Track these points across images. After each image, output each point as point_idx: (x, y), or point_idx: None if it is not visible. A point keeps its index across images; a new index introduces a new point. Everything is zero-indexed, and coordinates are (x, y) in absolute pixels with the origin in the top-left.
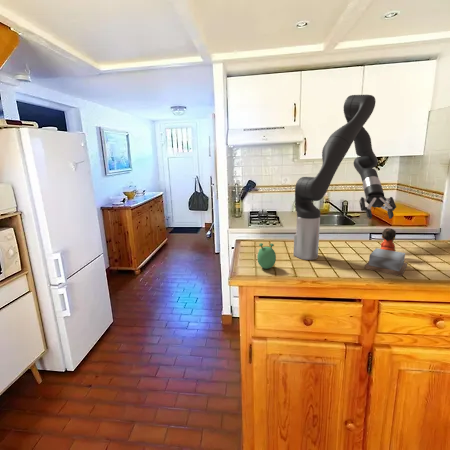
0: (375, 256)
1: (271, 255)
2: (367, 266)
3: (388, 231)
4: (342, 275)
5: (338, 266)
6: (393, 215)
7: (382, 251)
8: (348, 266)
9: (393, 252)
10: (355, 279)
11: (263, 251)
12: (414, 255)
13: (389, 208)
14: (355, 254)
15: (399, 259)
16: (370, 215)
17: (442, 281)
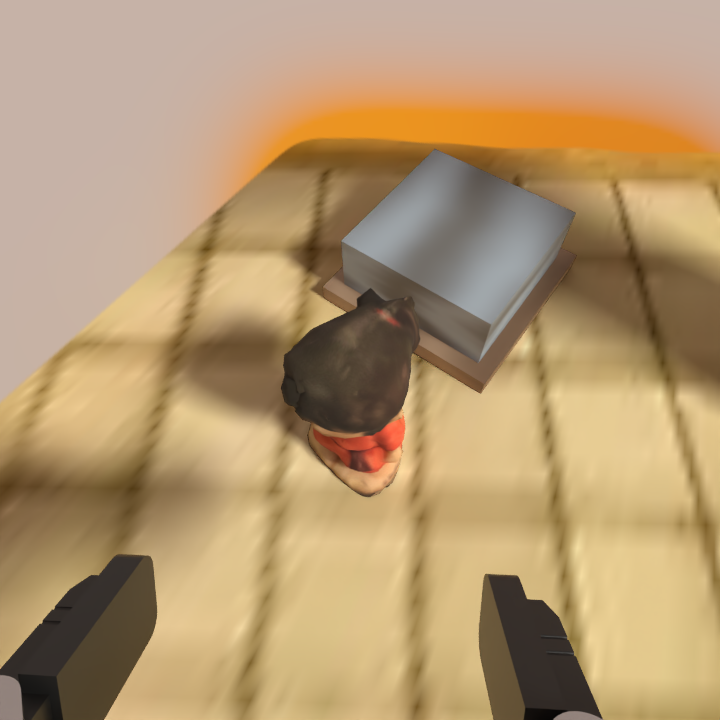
0: (545, 200)
1: None
2: (563, 251)
3: (386, 301)
4: (695, 200)
5: (714, 291)
6: (85, 581)
7: (472, 266)
8: (656, 291)
9: (409, 249)
10: (639, 169)
11: None
12: (147, 465)
13: (21, 708)
14: (576, 495)
15: (432, 161)
16: (520, 585)
17: (285, 159)
